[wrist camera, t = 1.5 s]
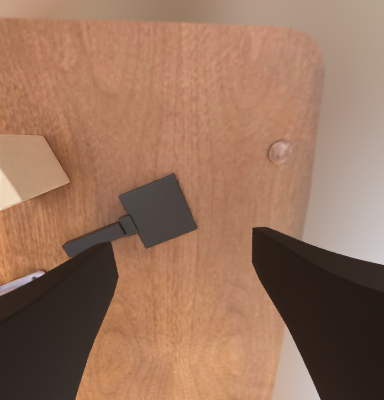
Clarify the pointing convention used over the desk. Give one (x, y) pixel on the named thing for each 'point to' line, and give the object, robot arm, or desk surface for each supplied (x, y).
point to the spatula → (144, 217)
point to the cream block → (27, 169)
